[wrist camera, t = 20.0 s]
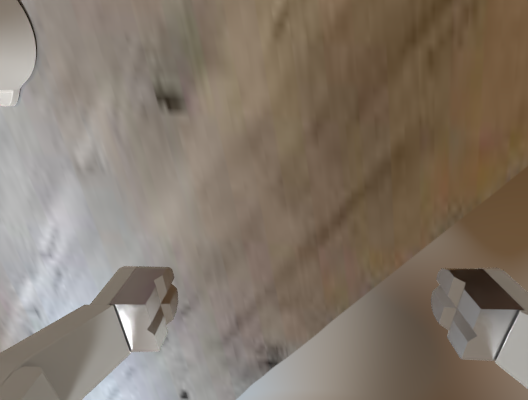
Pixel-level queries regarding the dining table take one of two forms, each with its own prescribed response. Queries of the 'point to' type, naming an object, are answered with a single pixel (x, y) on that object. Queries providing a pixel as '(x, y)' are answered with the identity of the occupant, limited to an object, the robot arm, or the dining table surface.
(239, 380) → the dining table surface
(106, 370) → the robot arm
